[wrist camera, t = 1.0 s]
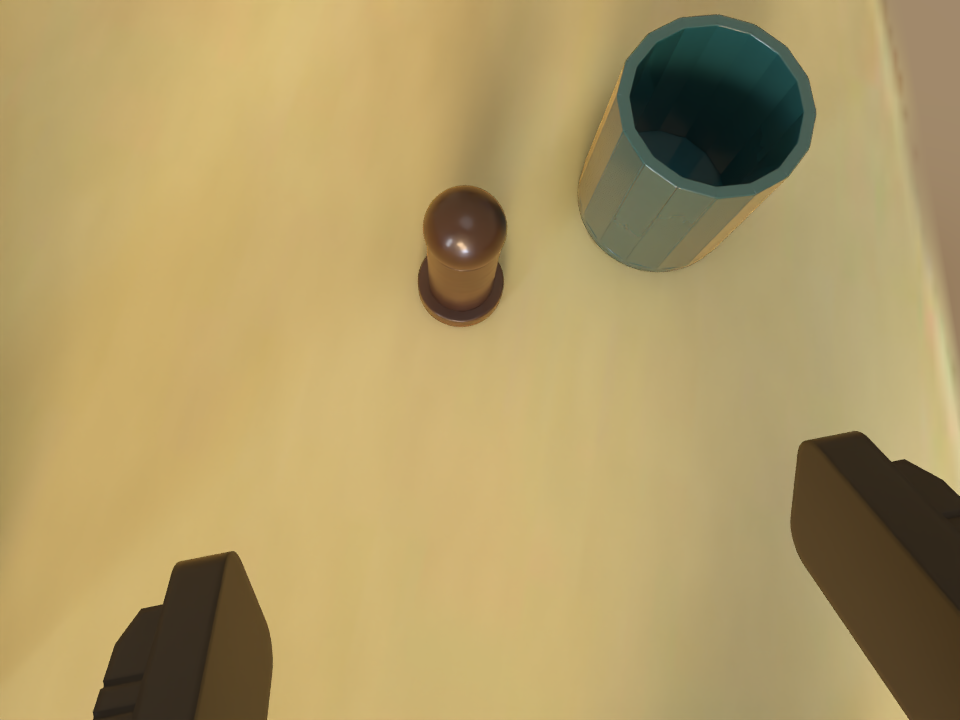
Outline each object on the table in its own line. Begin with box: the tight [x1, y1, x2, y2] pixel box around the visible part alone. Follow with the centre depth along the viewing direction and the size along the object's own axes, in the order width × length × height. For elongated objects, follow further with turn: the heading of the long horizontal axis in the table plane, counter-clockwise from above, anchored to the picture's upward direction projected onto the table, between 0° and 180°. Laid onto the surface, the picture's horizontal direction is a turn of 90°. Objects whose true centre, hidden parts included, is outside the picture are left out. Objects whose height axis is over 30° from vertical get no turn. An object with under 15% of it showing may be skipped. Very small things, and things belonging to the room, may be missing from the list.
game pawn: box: [418, 185, 507, 327], centre depth 32 cm, size 4×4×9 cm
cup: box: [578, 14, 816, 272], centre depth 34 cm, size 8×8×9 cm
